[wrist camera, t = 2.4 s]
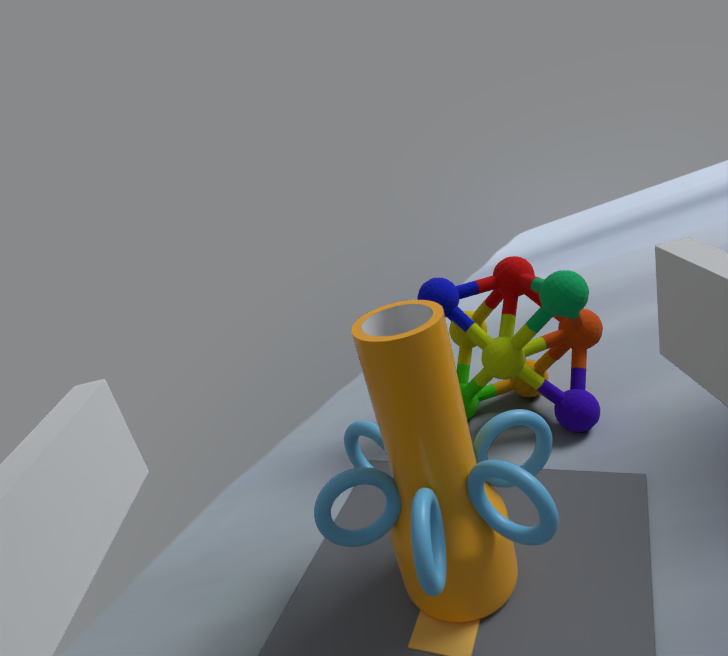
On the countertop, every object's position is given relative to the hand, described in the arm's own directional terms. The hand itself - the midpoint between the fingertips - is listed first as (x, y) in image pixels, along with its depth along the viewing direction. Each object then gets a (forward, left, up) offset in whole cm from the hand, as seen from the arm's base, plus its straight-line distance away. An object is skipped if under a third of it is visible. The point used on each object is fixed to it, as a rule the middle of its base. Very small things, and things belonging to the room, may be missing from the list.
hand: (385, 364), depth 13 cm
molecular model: (+3, -25, -19) cm, 32 cm away
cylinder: (+4, -9, -18) cm, 21 cm away
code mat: (+4, -9, -18) cm, 21 cm away
